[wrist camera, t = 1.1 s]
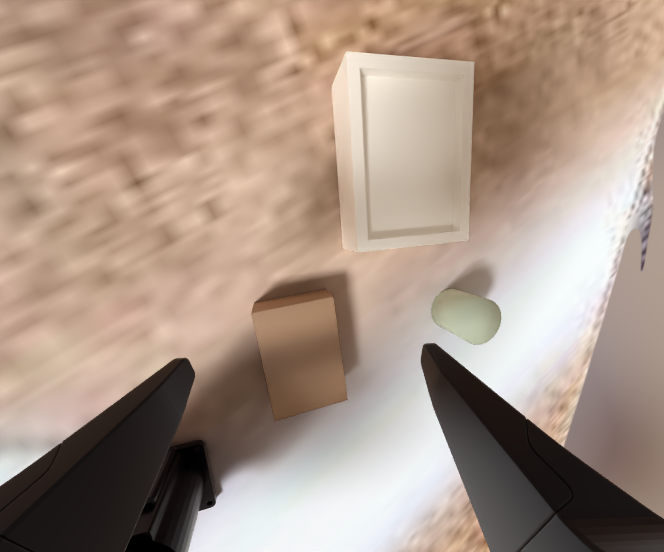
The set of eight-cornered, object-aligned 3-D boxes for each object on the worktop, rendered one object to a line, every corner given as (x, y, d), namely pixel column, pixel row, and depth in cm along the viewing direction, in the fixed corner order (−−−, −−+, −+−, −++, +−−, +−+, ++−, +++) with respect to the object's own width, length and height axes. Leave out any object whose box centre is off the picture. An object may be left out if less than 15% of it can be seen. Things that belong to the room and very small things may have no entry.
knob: (465, 323, 25) (499, 340, 22) (430, 330, 24) (460, 348, 21) (466, 286, 25) (502, 296, 21) (431, 291, 24) (461, 303, 20)
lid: (338, 378, 23) (347, 399, 20) (274, 396, 22) (274, 421, 19) (325, 288, 21) (333, 296, 19) (254, 301, 20) (251, 313, 17)
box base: (437, 239, 23) (468, 240, 19) (342, 248, 21) (357, 252, 17) (438, 92, 20) (474, 61, 17) (331, 86, 18) (346, 51, 15)
